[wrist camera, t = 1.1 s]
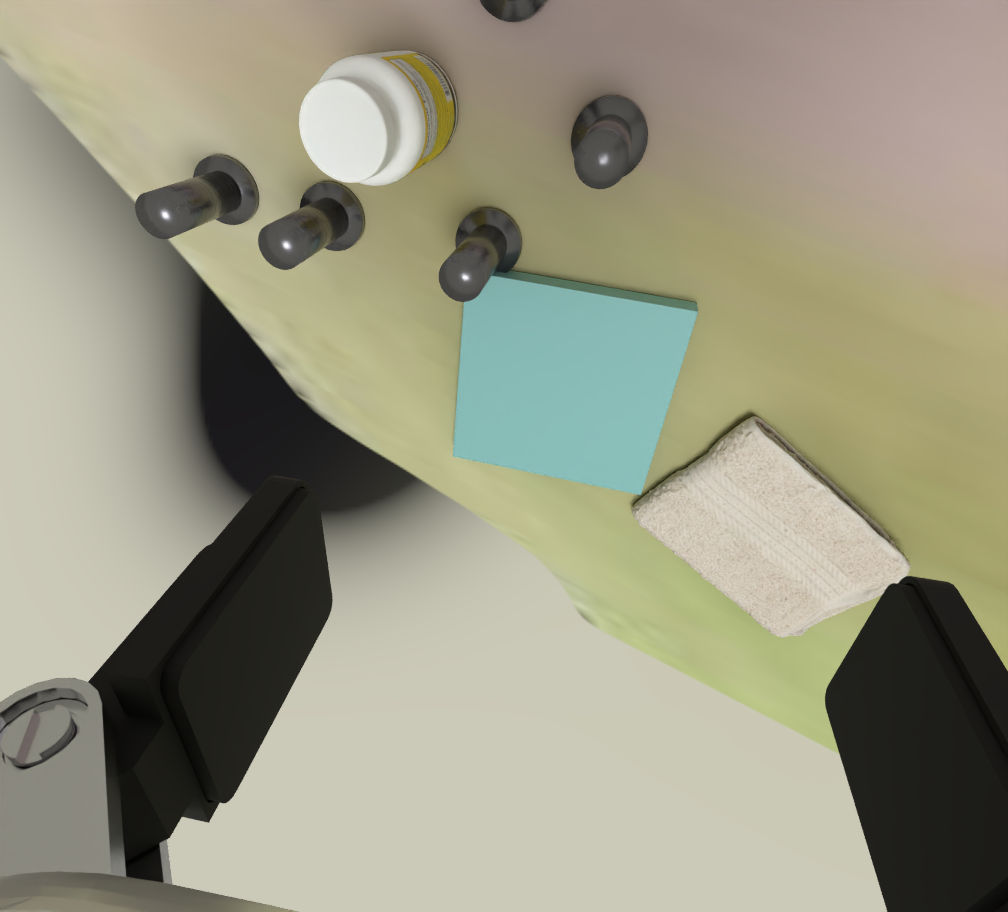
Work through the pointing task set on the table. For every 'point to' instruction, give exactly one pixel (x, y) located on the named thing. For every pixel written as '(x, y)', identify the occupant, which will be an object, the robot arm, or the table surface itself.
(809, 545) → the washcloth
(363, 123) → the supplement bottle
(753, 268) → the table surface
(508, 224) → the spacer field
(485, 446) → the teal pad
